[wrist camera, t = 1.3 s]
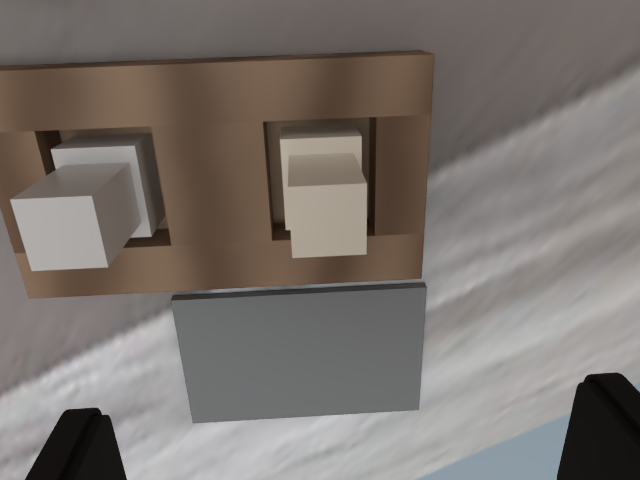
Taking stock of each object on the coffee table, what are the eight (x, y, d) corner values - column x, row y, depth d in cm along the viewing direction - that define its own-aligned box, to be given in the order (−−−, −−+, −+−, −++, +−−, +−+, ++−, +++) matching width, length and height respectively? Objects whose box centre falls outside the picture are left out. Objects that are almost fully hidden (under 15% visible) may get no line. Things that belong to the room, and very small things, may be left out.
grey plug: (150, 132, 27) (97, 175, 20) (165, 215, 29) (121, 283, 22) (75, 135, 27) (-7, 180, 19) (94, 218, 29) (27, 288, 21)
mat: (424, 282, 32) (426, 287, 32) (417, 403, 36) (418, 409, 36) (173, 295, 32) (170, 300, 31) (194, 417, 36) (193, 423, 35)
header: (419, 50, 26) (434, 54, 24) (410, 255, 31) (421, 278, 28) (-7, 66, 26) (-42, 72, 23) (52, 273, 31) (28, 298, 28)
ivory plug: (354, 124, 27) (377, 163, 20) (355, 206, 29) (375, 270, 22) (281, 126, 27) (276, 167, 20) (286, 210, 29) (283, 275, 22)
